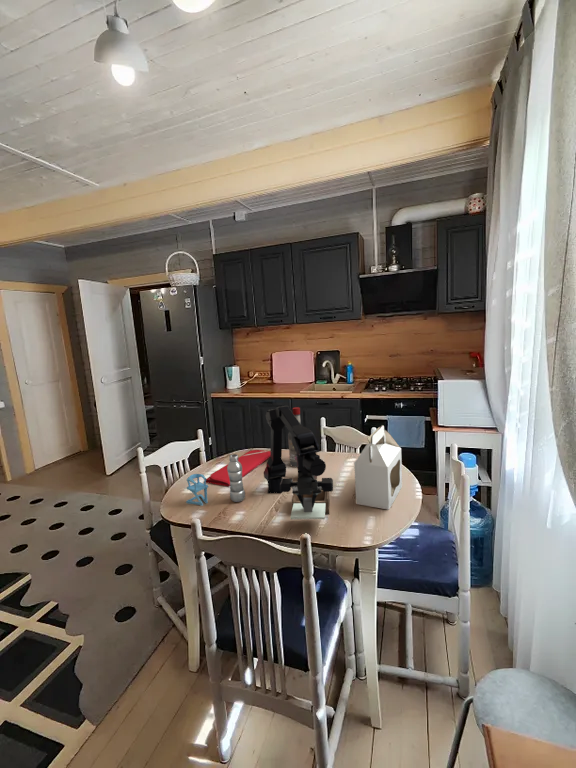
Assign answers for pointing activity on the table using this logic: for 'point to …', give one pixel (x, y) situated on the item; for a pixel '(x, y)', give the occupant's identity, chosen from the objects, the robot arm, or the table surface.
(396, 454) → the gable box
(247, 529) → the table surface
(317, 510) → the cover plate
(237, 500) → the plastic bottle
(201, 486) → the chair
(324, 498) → the walnut box
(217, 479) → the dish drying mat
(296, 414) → the liquor
